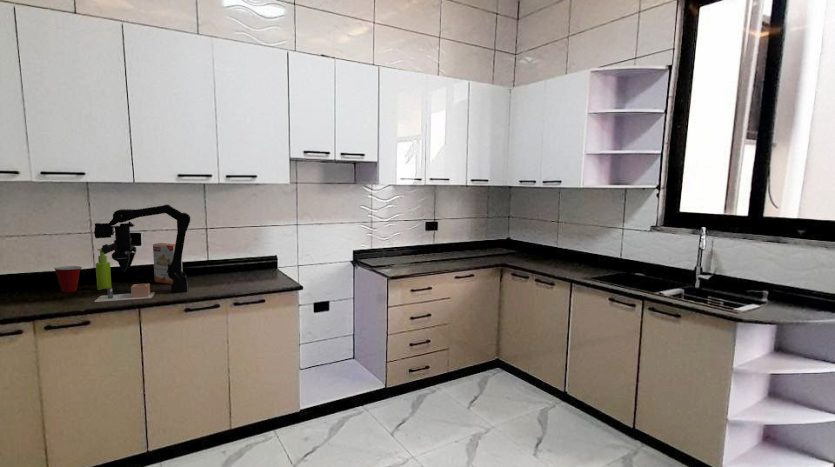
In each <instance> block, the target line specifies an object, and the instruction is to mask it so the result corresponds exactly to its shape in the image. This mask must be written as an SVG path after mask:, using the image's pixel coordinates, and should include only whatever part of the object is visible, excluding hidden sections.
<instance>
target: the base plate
mask: <svg viewBox="0 0 835 467" xmlns="http://www.w3.org/2000/svg"><path fill="white" fill-rule="evenodd" d="M155 293H156V292H155V291H152V292H151V291H150V295H149V296H148V297H137V298H132V296H131V293H122V294H120V293H119V294H113V298H108V294H107V295H106V294H105V295H100V296H99V297H97V299H95V300H94V303H99V302H101V303H102V302H113V301H125V300H141V299H152V298H153V296H154V295H155Z"/></svg>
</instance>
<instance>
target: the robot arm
mask: <svg viewBox="0 0 835 467" xmlns="http://www.w3.org/2000/svg"><path fill="white" fill-rule="evenodd" d="M162 214H165V215H166V214H167V215H168V216H169V217H171V218H172V219H173V220H176V229H177V230H176V232H177V233H176V238H175V239H176V240H175V243H174V244H175V250H174V256H173V260H172V263H170V262H168V269H167V272H166V273H168V277H169V278H170V279H172V280H173V282H172V284H170V290H171V294H182V293H188V291H189V290H188V288H189V283H188V279H187V276H188V275H187V274H186V273H185V272H184V271H183V272H182V268H183V264H182V265H181V258H182V259H183V250H184V246H185V239H186V232H188V228H189V226H190V223H191V216H190V214H188V213H187V212H182V211H180V210H178V209H176V208H174V207H172V206H171V205H170V204H163V205H159V206H151V207H144V208H138V209H137V208H136V209H134V208H133V209H132V208H130V209H129V208H127V209H126V208H122V209H121V208H120V209H118V210H116V211H114V212H113V213H112V219H111V220H109V222H102V223H100V222H96V223H94V231H93V235H94V238H95V239H110V238H112V236H115V240H113V243H110V244H102V247H101V248H100V249H101V251H102V252H103V253H104V255H107V254H108V253H110V252H113V253H111V259H113V261H116V262H117V263H118V265H119V267H120V271H121V272H122V273H126V272H127V269H131V266H132V263H133V261H134V259H135V255H136V254H137V247H136V246H135V245H132V241H133V238H132V237H131V228H133V227H135V224H134V223H132V222H131V220H134V219H139V218H143V217H149V216H156V215H162ZM117 224H119V225H117Z"/></svg>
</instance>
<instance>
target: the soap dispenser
mask: <svg viewBox="0 0 835 467" xmlns="http://www.w3.org/2000/svg"><path fill="white" fill-rule="evenodd" d="M96 250H97V251H99V255H98V257H97V259H98V262H96V263H95V275H96V276H95V277H96V290H97V291H101V290H107V288H112V277H111V276H112V275H111V273H112V272H111V262H110V261H108V257H107V255H106V254H104V253H103V252H102V251H101V248H97V249H96Z"/></svg>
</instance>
